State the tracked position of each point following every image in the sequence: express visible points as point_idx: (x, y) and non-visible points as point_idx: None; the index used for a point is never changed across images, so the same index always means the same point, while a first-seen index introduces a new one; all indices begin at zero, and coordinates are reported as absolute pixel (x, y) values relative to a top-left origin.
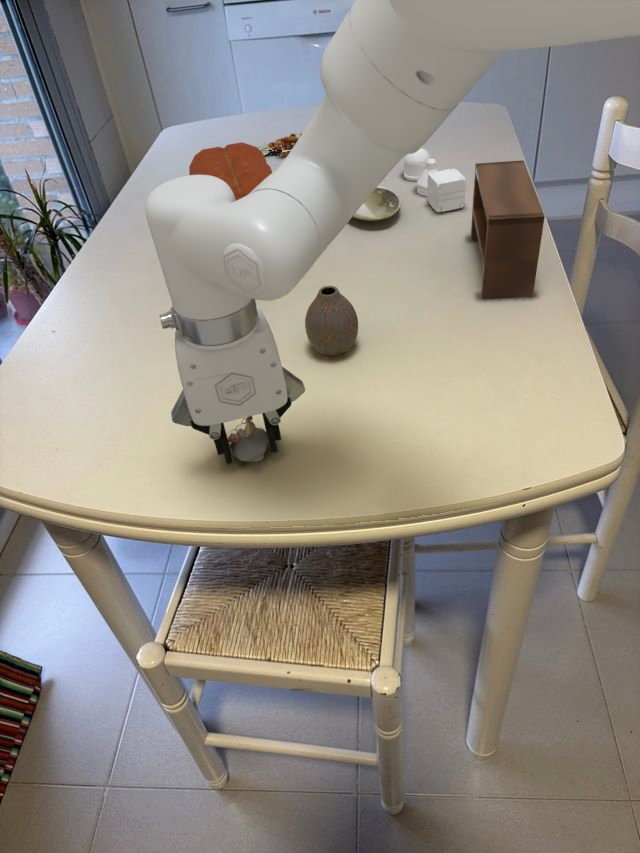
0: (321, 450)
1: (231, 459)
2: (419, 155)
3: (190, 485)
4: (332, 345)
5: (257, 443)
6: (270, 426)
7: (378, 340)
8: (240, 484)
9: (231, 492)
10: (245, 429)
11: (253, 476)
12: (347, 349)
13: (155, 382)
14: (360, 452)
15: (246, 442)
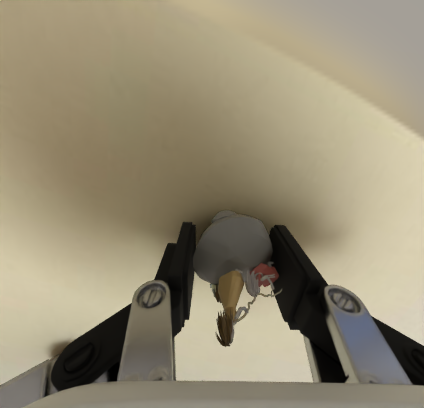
0: (103, 202)
1: (275, 230)
2: None
3: (355, 205)
4: None
5: (219, 246)
6: (173, 280)
7: (21, 353)
8: (272, 174)
9: (296, 160)
10: (240, 288)
11: (242, 185)
12: (54, 358)
13: (306, 367)
14: (20, 169)
15: (243, 255)
